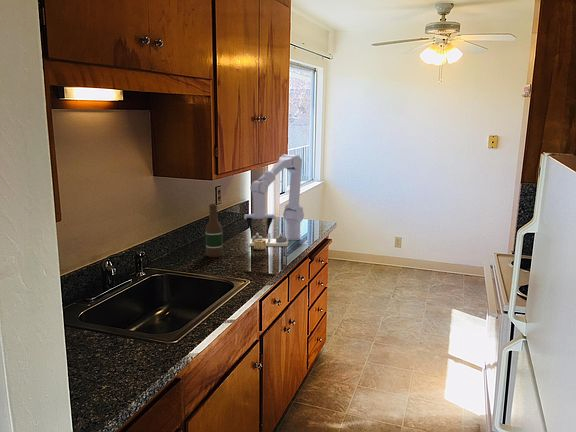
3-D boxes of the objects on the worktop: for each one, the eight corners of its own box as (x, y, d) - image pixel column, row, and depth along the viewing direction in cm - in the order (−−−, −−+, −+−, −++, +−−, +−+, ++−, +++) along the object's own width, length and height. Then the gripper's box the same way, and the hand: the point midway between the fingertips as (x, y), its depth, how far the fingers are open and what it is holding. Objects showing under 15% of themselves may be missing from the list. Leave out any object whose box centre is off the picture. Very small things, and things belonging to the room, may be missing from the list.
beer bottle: (226, 254, 225) (225, 204, 220) (213, 258, 219) (211, 206, 214) (215, 251, 230) (214, 202, 225) (202, 255, 224) (200, 204, 219)
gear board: (251, 241, 248) (251, 231, 247) (288, 241, 248) (288, 231, 247) (249, 246, 240) (249, 235, 239) (287, 246, 239) (287, 235, 238)
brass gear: (254, 246, 239) (254, 238, 238) (266, 246, 239) (266, 238, 238) (253, 249, 233) (253, 241, 233) (265, 249, 233) (265, 241, 232)
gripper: (243, 207, 228) (243, 235, 231) (274, 207, 228) (274, 235, 230) (245, 204, 235) (245, 231, 238) (274, 204, 235) (275, 231, 237)
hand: (259, 233), depth 235 cm, fingers open, 7 cm apart
